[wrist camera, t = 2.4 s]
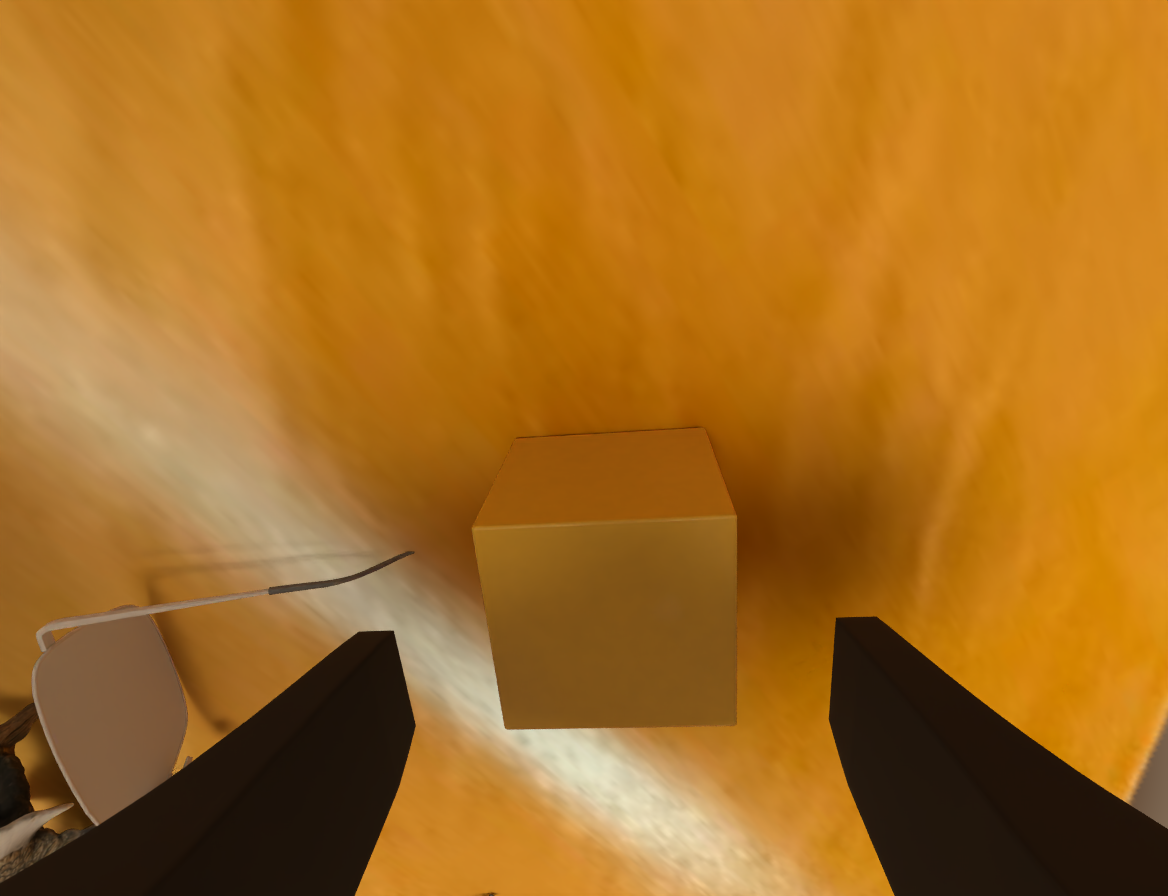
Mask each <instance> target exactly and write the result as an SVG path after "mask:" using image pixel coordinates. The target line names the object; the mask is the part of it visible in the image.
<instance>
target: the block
mask: <svg viewBox="0 0 1168 896" xmlns="http://www.w3.org/2000/svg"><path fill="white" fill-rule="evenodd" d="M472 535H473V541H474V547H475V553H476V559H477V565H478V571H479V577H480V583H481V589H482V595H483V601H484V607H485V613H486V619H487V625H488V631H489V637H490V643H491V649H492V655H493V661H494V667H495V673H496V679H497V685H498V691H499V697H500V703H501V709H502V715H503V721H504V726H505V729H570V728H631V727H693V726H734V725H736V723H737V515H736V512H735V509H734V507H733V504H732V501H731V498H730V496H729V493H728V490H727V487H726V485H725V482H724V479H723V476H722V473H721V471H720V468H719V465H718V462H717V460H716V457H715V454H714V451H713V449H712V446H711V443H710V440H709V438H708V435H707V432H706V429H705V428H686V429H669V430H652V431H635V432H618V433H601V434H584V435H567V436H549V437H532V438H516V439H515V440H514V442H513V444H512V446H511V448H510V450H509V452H508V454H507V456H506V458H505V460H504V462H503V465H502V467H501V469H500V471H499V473H498V475H497V477H496V479H495V481H494V483H493V485H492V487H491V489H490V491H489V493H488V495H487V497H486V499H485V502H484V504H483V506H482V508H481V510H480V512H479V514H478V516H477V518H476V520H475V522H474V524H473V526H472Z"/></svg>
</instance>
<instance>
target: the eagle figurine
mask: <svg viewBox="0 0 1168 896" xmlns="http://www.w3.org/2000/svg"><path fill="white" fill-rule="evenodd" d="M38 717H39V716H38V713H37V709H36V706H35V703H32V704H30V705H28V706H27V707H25V708H24V709H23V710H21V711H20V712H19V713H18V714H16V715H15V716H14V717H12V718H11V719H10V720H8V721H7V722H5V723H4V724H2V725H0V883H2V882H3V881H5V880H7V879H8V878H10V877H12V876H13V875H15V874H17V873H19V872H20V871H22V870H24V869H25V868H27V867H29V866H31V865H32V864H34V863H36V862H37V861H39V860H41V859H42V858H44V857H46V856H48V855H49V854H51V853H53V852H54V851H56V850H58V849H59V848H61V847H63V846H65V845H66V844H68V843H70V842H71V841H73V840H75V839H77V838H78V837H80V836H82V835H83V834H85V833H87V832H88V831H90V830H91V829H93V828H95V827H96V825H95V824H93V825H91V826H89V827H87V828H85V829H83V830H77V829H69V830H66V831H64V832H63V833H61V834H57V833H56V832H55V831H54V830H52V829H49V828H45V829H44V827H43V825H44V824H45V823H47V822H48V821H49V820H51V819H52V818H54V817H55V816H57V815H59V814H60V813H62V812H64V811H66V810H68V809H69V808H71V807H73V805H74V803H66V804H63V805H59V806H56V807H53V808H50V809H46V810H41V811H34V808H33V806H32V804H31V802H30V797H31V795H30V786H29V783H28V781H27V779H26V776H25V774H24V771H25V769H24V767H23V766H22V764H21V762H20V759H19V758H18V757H17V756H15V752H14V749H15V744H16V743H17V742H19V741H21V740H22V739H23V738H24V737H26V735H27V734H28V733H29V730H30V728H31V726H32V724H33V723H34V722H35V721H36V720H37V719H38Z"/></svg>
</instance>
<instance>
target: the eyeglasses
mask: <svg viewBox="0 0 1168 896" xmlns="http://www.w3.org/2000/svg"><path fill="white" fill-rule="evenodd" d="M413 553H415V552H409V551H408V552H405V553H402V554H400V555H398V556H395V557H393V558H391V559H389V560H387V561H384V562H382V563H380V564H378V565H376V566H373V567H371V568H369V569H367V570H365V571H362V572H360V573H357V574H355V575H352V576H348V577H344V578H339V579H334V580H327V581H319V582H310V583H302V584H293V585H285V586H276V587H270V588H269V589H264V590H257V591H250V592H243V593H236V594H229V595H222V596H215V597H208V598H201V599H194V600H187V601H180V602H173V603H166V604H159V605H152V606H145V607H139V606H135V605H124V606H119V607H117V608H114V609H112V610H109V611H107V612H103V613H96V614H89V615H82V616H75V617H68V618H62V619H57V620H54V621H51V622H49V623H47V624H46V625H45V626H43V627H42V628H41V629H40V630H38V631H37V633H36V638H37V641H38V644H39V646H40V649H41V652H44V653H43V654H42V655H41V656H40V658H39V659H38V660H37V662H36V663H35V666H34V668H33V672H32V695H33V699H34V703H35V706H36V709H37V713H38V716H39V719H40V722H41V725H42V727H43V730H44V733H45V736H46V738H47V741H48V743H49V746H50V748H51V750H52V753H53V755H54V757H55V759H56V761H57V763H58V766H59V768H60V770H61V772H62V774H63V776H64V778H65V780H66V781H67V783H68V785H69V787H70V788H71V790H72V792H73V794H74V796H75V797H76V799H77V800H78V802H79V804H80V805H81V807H82V809H83V810H84V812H85V813H86V815H87V816H88V817H89V818H90V819H91V821H92V822H93V823H94V824H95V825H96V826H98V825H99V824H101V823H103V822H104V821H106V820H107V819H109V818H110V817H112V816H113V815H115V814H116V813H118V812H119V811H121V810H122V809H124V808H126V807H127V806H129V805H130V804H132V803H133V802H135V801H136V800H138V799H139V798H141V797H142V796H144V795H145V794H147V793H148V792H150V791H151V790H153V789H154V788H156V787H157V786H159V785H160V784H162V783H163V782H164V781H166V780H167V779H169V778H170V777H172V775H173V774H172V771H173V768H174V766H175V763H176V761H177V758H178V755H179V753H180V750H181V747H182V744H183V740H184V737H185V733H186V729H187V721H188V713H187V706H186V701H185V697H184V693H183V690H182V686H181V683H180V680H179V677H178V674H177V671H176V668H175V665H174V663H173V660H172V658H171V655H170V653H169V651H168V648H167V646H166V644H165V642H164V640H163V638H162V635H161V633H160V631H159V629H158V627H157V625H156V624H155V622H154V621H153V619H152V618H151V616H150V615H149V614H152V613H158V612H164V611H170V610H176V609H182V608H188V607H193V606H199V605H205V604H211V603H217V602H223V601H229V600H235V599H241V598H247V597H253V596H258V595H264V594H269V595H272V594H279V593H286V592H294V591H301V590H308V589H316V588H324V587H329V586H334V585H338V584H341V583H345V582H348V581H352V580H355V579H357V578H360V577H363V576H365V575H367V574H370V573H372V572H374V571H377V570H379V569H381V568H383V567H385V566H387V565H389V564H391V563H393V562H395V561H397V560H399V559H401V558H404V557H406V556H408V555H411V554H413ZM75 626H79V627H77V628H75V629H74V630H72V631H70V632H69V633H67V634H66V635H64V636H63V637H62V638H60V639H59V640H57V641H56V642H55V640H54V637H53V635H52V632H51V631H52V630H57V629H63V628H69V627H75ZM192 758H193V757H190V756H187V759H186V761H185V764H184V766H183V768H184V767H186V766H187V765H188V764H190V763H191V762H192ZM489 896H494V895H492V894H490V895H489Z"/></svg>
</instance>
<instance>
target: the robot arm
mask: <svg viewBox="0 0 1168 896" xmlns="http://www.w3.org/2000/svg"><path fill="white" fill-rule="evenodd" d="M829 722H830V725H831V729H832V732H833V736H834V739H835V743H836V746H837V750H838V754H839V757H840V760H841V763H842V767H843V770H844V773H845V777H846V780H847V783H848V786H849V788H850V791H851V793H852V796H853V798H854V801H855V803H856V805H857V808H858V810H859V813H860V815H861V817H862V820H863V822H864V825H865V827H866V829H867V832H868V834H869V836H870V839H871V841H872V844H873V846H874V848H875V851H876V853H877V855H878V858H879V860H880V862H881V865H882V867H883V869H884V872H885V874H886V876H887V879H888V881H889V884H890V886H891V888H892V891H893V893H894V895H895V896H1168V829H1167V828H1165V827H1164V826H1162V825H1161V824H1159V823H1157V822H1156V821H1154V820H1153V819H1151V818H1150V817H1148V816H1146V815H1145V814H1143V813H1142V812H1140V811H1138V810H1137V809H1135V808H1134V807H1132V806H1130V805H1129V804H1127V803H1126V802H1124V801H1123V800H1121V799H1119V798H1118V797H1116V796H1115V795H1113V794H1111V793H1110V792H1108V791H1107V790H1105V789H1104V788H1102V787H1101V786H1099V785H1098V784H1096V783H1095V782H1093V781H1092V780H1090V779H1089V778H1087V777H1086V776H1084V775H1083V774H1081V773H1080V772H1078V771H1077V770H1075V769H1074V768H1072V767H1071V766H1069V765H1068V764H1067V763H1065V762H1064V761H1062V760H1061V759H1060V758H1058V757H1057V756H1055V755H1054V754H1053V753H1051V752H1050V751H1048V750H1047V749H1045V748H1044V747H1043V746H1041V745H1040V744H1038V743H1037V742H1036V741H1034V740H1033V739H1031V738H1030V737H1029V736H1027V735H1026V734H1024V733H1023V732H1022V731H1020V730H1019V729H1018V728H1016V727H1015V726H1014V725H1012V724H1011V723H1010V722H1008V721H1007V720H1005V719H1004V718H1003V717H1001V716H1000V715H999V714H997V713H996V712H995V711H994V710H992V709H991V708H990V707H988V706H987V705H986V704H984V703H983V702H982V701H981V700H979V699H978V698H977V697H975V696H974V695H973V694H972V693H970V692H969V691H968V690H966V689H965V688H964V687H963V686H961V685H960V684H959V683H958V682H956V681H955V680H954V679H953V678H951V677H950V676H949V675H948V674H946V673H945V672H944V671H943V670H941V669H940V668H939V667H938V666H937V665H935V664H934V663H933V662H932V661H930V660H929V659H928V658H927V657H926V656H924V655H923V654H922V653H921V652H919V651H918V650H917V649H916V648H915V647H913V646H912V645H911V644H910V643H909V642H907V641H906V640H905V639H904V638H902V637H901V636H900V635H899V634H898V633H896V632H895V631H894V630H893V629H891V628H890V627H889V626H888V625H886V624H885V623H884V622H883V621H881V620H880V619H879V618H878V617H843V618H836V624H835V638H834V653H833V667H832V682H831V696H830V711H829ZM415 727H416V725H415V720H414V716H413V712H412V707H411V703H410V699H409V694H408V690H407V686H406V681H405V677H404V673H403V669H402V664H401V660H400V656H399V651H398V647H397V643H396V638H395V634H394V631H365V632H358V633H357V634H355V635H354V636H352V637H351V638H350V639H348V640H347V641H346V642H344V643H343V644H342V645H340V646H339V647H338V648H337V649H335V650H334V651H333V652H332V653H330V654H329V655H328V656H327V657H325V658H324V659H323V660H322V661H320V662H319V663H318V664H317V665H316V666H314V667H313V668H312V669H311V670H309V671H308V672H307V673H306V674H304V675H303V676H302V677H301V678H300V679H298V680H297V681H296V682H295V683H293V684H292V685H291V686H290V687H288V688H287V689H286V690H285V691H283V692H282V693H281V694H280V695H278V696H277V697H276V698H275V699H273V700H272V701H271V702H270V703H269V704H267V705H266V706H265V707H264V708H262V709H261V710H260V711H259V712H257V713H256V714H255V715H254V716H252V717H251V718H250V719H248V720H247V721H246V722H244V723H243V724H242V725H240V726H239V727H238V728H236V729H235V730H234V731H232V732H231V733H230V734H228V735H227V736H226V737H224V738H223V739H222V740H220V741H219V742H218V743H216V744H215V745H214V746H212V747H211V748H210V749H208V750H207V751H206V752H204V753H203V754H202V755H200V756H199V757H198V758H196V759H195V760H194V761H192V762H191V763H190V764H188V765H187V766H186V767H184V768H183V769H182V770H180V771H179V772H177V773H176V774H174V775H173V776H172V777H170V778H169V779H167V780H166V781H164V782H163V783H162V784H160V785H159V786H157V787H156V788H154V789H153V790H151V791H150V792H148V793H147V794H145V795H144V796H142V797H141V798H139V799H138V800H136V801H135V802H133V803H132V804H130V805H129V806H127V807H126V808H124V809H122V810H121V811H119V812H118V813H116V814H115V815H113V816H112V817H110V818H109V819H107V820H106V821H104V822H103V823H101V824H99V825H98V826H96V827H95V828H93V829H91V830H90V831H88V832H87V833H85V834H83V835H82V836H80V837H78V838H77V839H75V840H73V841H71V842H70V843H68V844H66V845H65V846H63V847H61V848H59V849H58V850H56V851H54V852H53V853H51V854H49V855H48V856H46V857H44V858H42V859H41V860H39V861H37V862H36V863H34V864H32V865H31V866H29V867H27V868H25V869H24V870H22V871H20V872H19V873H17V874H15V875H13V876H12V877H10V878H8V879H7V880H5V881H3V882H2V883H0V896H355V893H356V891H357V888H358V886H359V884H360V881H361V879H362V876H363V874H364V872H365V869H366V867H367V864H368V862H369V859H370V857H371V855H372V852H373V850H374V847H375V845H376V843H377V840H378V838H379V835H380V833H381V830H382V828H383V825H384V823H385V820H386V818H387V816H388V813H389V811H390V808H391V806H392V803H393V801H394V798H395V796H396V793H397V790H398V788H399V785H400V781H401V778H402V775H403V771H404V768H405V764H406V761H407V757H408V753H409V750H410V746H411V742H412V738H413V734H414V730H415Z"/></svg>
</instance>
